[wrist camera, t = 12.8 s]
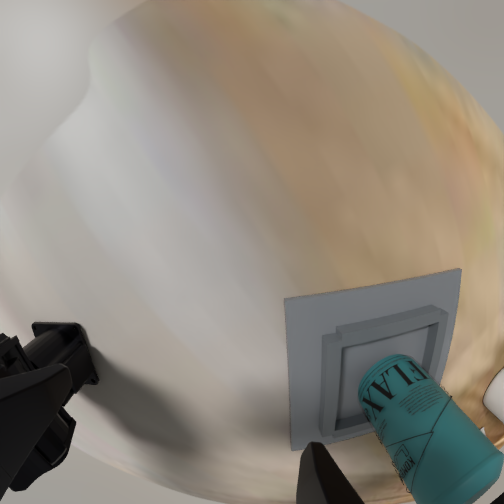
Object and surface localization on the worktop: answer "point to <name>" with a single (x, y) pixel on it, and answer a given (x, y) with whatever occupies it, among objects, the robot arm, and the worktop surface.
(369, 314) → the grey square base plate
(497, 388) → the milk bottle
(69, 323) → the robot arm
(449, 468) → the beverage bottle
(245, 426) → the worktop surface
